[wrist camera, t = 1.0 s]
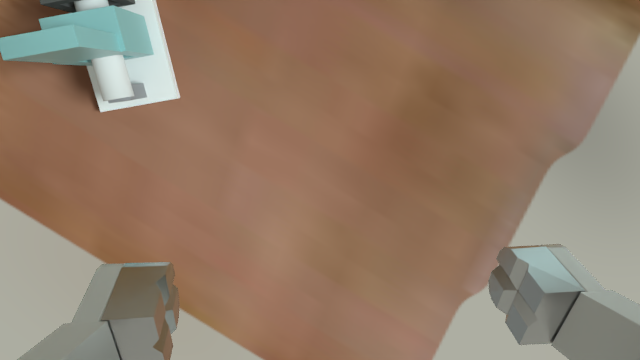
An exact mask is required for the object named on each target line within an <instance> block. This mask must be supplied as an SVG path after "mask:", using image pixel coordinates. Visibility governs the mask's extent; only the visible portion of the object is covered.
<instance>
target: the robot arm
mask: <svg viewBox="0 0 640 360" xmlns="http://www.w3.org/2000/svg"><path fill="white" fill-rule="evenodd" d="M497 261H498V263H499V266H498V267H496V268H495V269H494V270H493V271H492V272H491V275H490V278H489V293H490V295H491V299H492V301H493V303H494V304H495V306H496V308H498V309H499V310H501V311H502V312H504V313H505V314H506V321H505V323H506V324H507V326H508V328H509V329H510V331H511V332H512V334H513V335H514V337H515V339H516V340H517V342H518V344H519V345H527V344H548V343H552V346H553V347H554V348H556V349H557V350H558V351H559V352H561V353H562V354H563V355H565V356H566V357H567V358H568V359H569V360H640V304H638V303H636V302H634V301H632V300H630V299H628V298H626V297H624V296H622V295H620V294H619V293H616V292H615V291H613V290H605V288H604V287H603V286H602V285H601V284H600V283H599V282H598V281H597V280H596V279H595V278H594V277H593V276H592V275H591V274H590V272H589V271H588V270H587V269H586V268H585V267H584V266H583V265H582V264H581V263H580V262H579V261H578V260H577V258H575V256H573V254H572V253H571V252H570V251H569V250H568V249H567V248H566V247H564V246H563V245H561V244H552V245H540V246H538V245H537V246H518V247H504V248H503V249H501V250H500V251H499V254H498V256H497ZM174 276H175V272H174V268H173V264H172V263H171V262H157V263H125V264H102V265H101V266H100V267H99V268H98V269H97V270H96V272H95V274H94V276H93V278H92V280H91V283H90V285H89V287H88V289H87V291H86V293H85V295H84V297H83V299H82V301H81V303H80V306H79V308H78V310H77V312H76V314H75V316H74V318H73V320H72V322H71V323H68V324H63V325H61V326H60V327H59V328H58V329H56V330H55V331H54V332H52V333H51V334H50V335H48V336H47V337H46V338H44V339H43V340H42V341H41V342H40V343H38V344H37V345H35V346H34V347H33V348H32V349H30V350H29V351H28V352H26V353H25V354H24V355H22V356H21V357H20V358H19V359H17V360H170V357H171V352H172V348H173V343H172V339H171V334H172V333H173V332H174V331H175V330H176V328H177V323H178V318H179V293H178V288H177V287H176V286H174V285H173V281H174Z"/></svg>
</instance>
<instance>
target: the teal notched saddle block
mask: <svg viewBox="0 0 640 360" xmlns="http://www.w3.org/2000/svg"><path fill="white" fill-rule="evenodd" d="M39 22H40V25H41V29H42V30H40V31H35V32H30V33H24V34H19V35H13V36H8V37H2V38H0V52H1V55H2V58H3V60H6V61H26V62H45V63H53V64H61V65H83V66H93V65H92V62H91V59H96V58H101V57H107V56H112V55H123V57H124V60H127V59H133V58H139V57H144V56H150V55H154V52H153V49H152V45H151V41H150V37H149V33H148V30H147V26H146V22H145V18H144V16H142V15H139V14H136V13H133V12H131V11H128V10H125V9H122V8H120V7H117V6H114V5H112V6H107V7H101V8H96V9H91V10H85V11H80V12H74V13H69V14H63V15H58V16H52V17H47V18H42V19H39Z"/></svg>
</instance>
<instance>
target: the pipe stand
mask: <svg viewBox="0 0 640 360" xmlns="http://www.w3.org/2000/svg"><path fill="white" fill-rule="evenodd" d="M74 5H75V8H76V12H80V11H85V10H91V9H96V8H101V7H107V6H109V4H108V0H81V1H75V2H74ZM120 8H122V9H125V10H128V11H131V12H133V13H136V14H139V15H142V16H144V18H145V22H146V26H147V30H148V33H149V37H150V41H151V45H152V49H153V52H154V55H150V56H144V57H139V58H133V59H127V60H124V57H123V55H112V56H107V57H101V58H96V59H91V62H92V65H93V66H87V69H88V73H89V76H90V79H91V82H92V86H93V89H94V92H95V96H96V99H97V102H98V105H99V109H100V112H104V111H110V110H115V109H121V108H127V107H132V106H138V105H143V104H149V103H155V102H160V101H166V100H171V99H177V98H180V95H179V91H178V87H177V83H176V79H175V75H174V71H173V67H172V63H171V59H170V55H169V51H168V47H167V44H166V40H165V36H164V32H163V28H162V24H161V20H160V16H159V12H158V8H157V4H156V0H135V4H133V5H127V6H122V7H120ZM70 13H71V12H70Z"/></svg>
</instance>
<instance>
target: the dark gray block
mask: <svg viewBox="0 0 640 360" xmlns="http://www.w3.org/2000/svg"><path fill="white" fill-rule="evenodd" d="M75 1H81V0H40V3H41V5H45V6H48V7H52V8H56V9H60V10H64V11H67V12H71V13H74V12H76V8H75V5H74V2H75ZM108 4H109V6H112V5H114V6H117V7H122V6H127V5H133V4H135V0H108Z"/></svg>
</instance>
